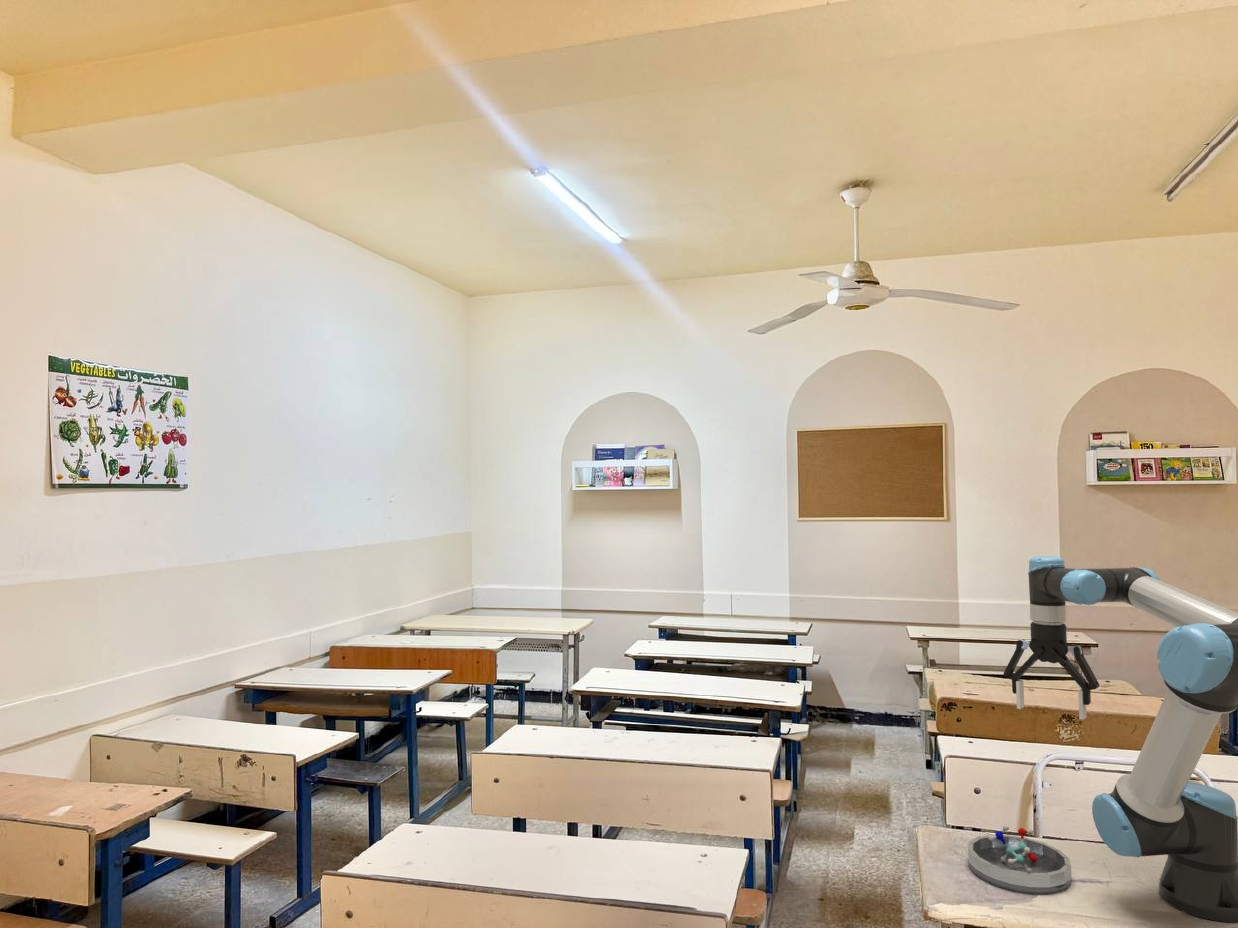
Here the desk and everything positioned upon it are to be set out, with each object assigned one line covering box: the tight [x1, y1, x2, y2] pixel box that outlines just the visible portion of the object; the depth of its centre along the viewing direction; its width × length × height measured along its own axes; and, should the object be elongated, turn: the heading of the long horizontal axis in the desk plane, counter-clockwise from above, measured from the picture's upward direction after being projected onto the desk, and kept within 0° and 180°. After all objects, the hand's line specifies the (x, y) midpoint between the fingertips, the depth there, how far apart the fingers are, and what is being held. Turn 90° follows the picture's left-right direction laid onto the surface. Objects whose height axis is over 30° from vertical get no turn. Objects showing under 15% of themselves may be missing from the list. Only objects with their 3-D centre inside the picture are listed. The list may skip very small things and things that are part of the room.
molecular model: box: [988, 824, 1037, 873], centre depth 178 cm, size 12×10×10 cm
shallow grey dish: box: [967, 834, 1072, 896], centre depth 177 cm, size 20×20×4 cm
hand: (1050, 713), depth 190 cm, fingers open, 13 cm apart
